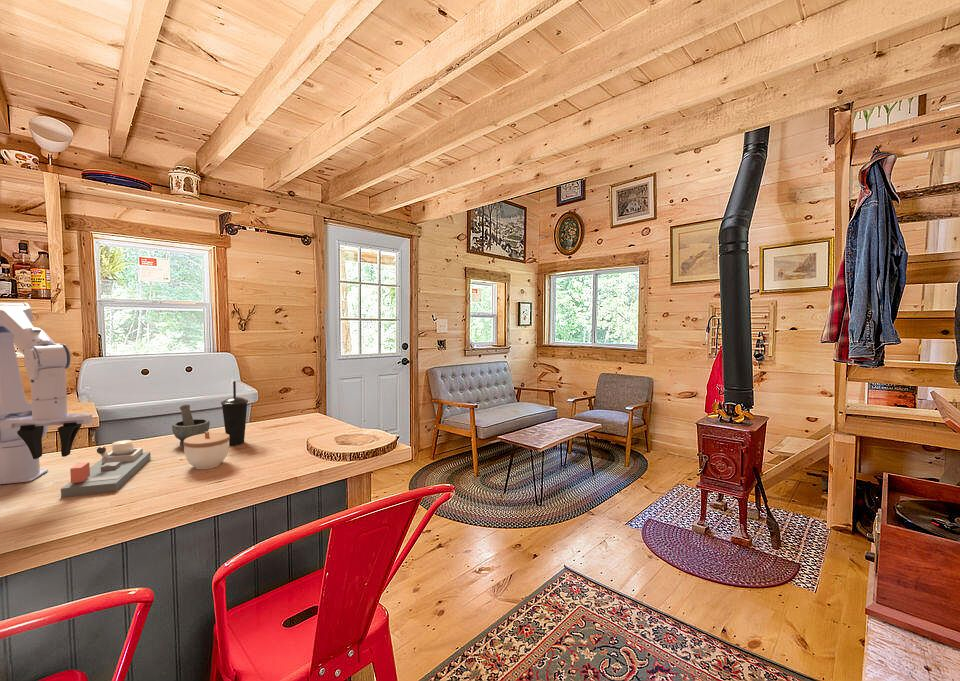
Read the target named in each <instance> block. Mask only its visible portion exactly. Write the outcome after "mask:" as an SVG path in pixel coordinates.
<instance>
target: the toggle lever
mask: <svg viewBox="0 0 960 681" xmlns="http://www.w3.org/2000/svg"><path fill="white" fill-rule="evenodd" d="M96 453H97V454H99V455H100V456H101V459H102V458H103V459H104V461H107V460H109V459H111V458H110V457H109V455H108V452H107V448H106V447H105V446H99V447H97V449H96Z"/></svg>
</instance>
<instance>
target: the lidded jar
mask: <svg viewBox="0 0 960 681" xmlns="http://www.w3.org/2000/svg"><path fill="white" fill-rule="evenodd" d="M229 439H230V435H229V434H226V433H225V432H210V431H209V430H208V431H207V432H205V433H204V434H198V435H194V436H191V437H188V438H186V439H185V440H184V441H183V443H184V447H183V449H184V451H183V452H184V456H185V459H186V461H187V462H188V464H190V465H191V466H192V467H193V468H194V469H195V470H208V469H209V470H210V469H215V468H218V467H219V466H220V465H221V463H223V462H224V460H225V459H226V458H227V456H228V453H229V450H230V445H229Z"/></svg>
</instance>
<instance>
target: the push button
mask: <svg viewBox="0 0 960 681" xmlns="http://www.w3.org/2000/svg"><path fill="white" fill-rule="evenodd" d="M133 449H134V440H130V439H128V440H125V439H124V440H119V441H114V442H112V443H111V451H112V454H125V453H129V452H132V451H133Z"/></svg>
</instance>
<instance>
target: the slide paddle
mask: <svg viewBox="0 0 960 681" xmlns="http://www.w3.org/2000/svg"><path fill="white" fill-rule="evenodd" d="M90 465H91V464H90V461H86V462H85V461H84V462H83V461H82V462H78V463H77V464H75V465H73V466H72V467H71V468H70V470H69V471H70V474H69V475H70V482H71V483H77V482H83V481H84V480H85V479H86V478H88V477H89V476H90V467H91V466H90Z"/></svg>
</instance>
